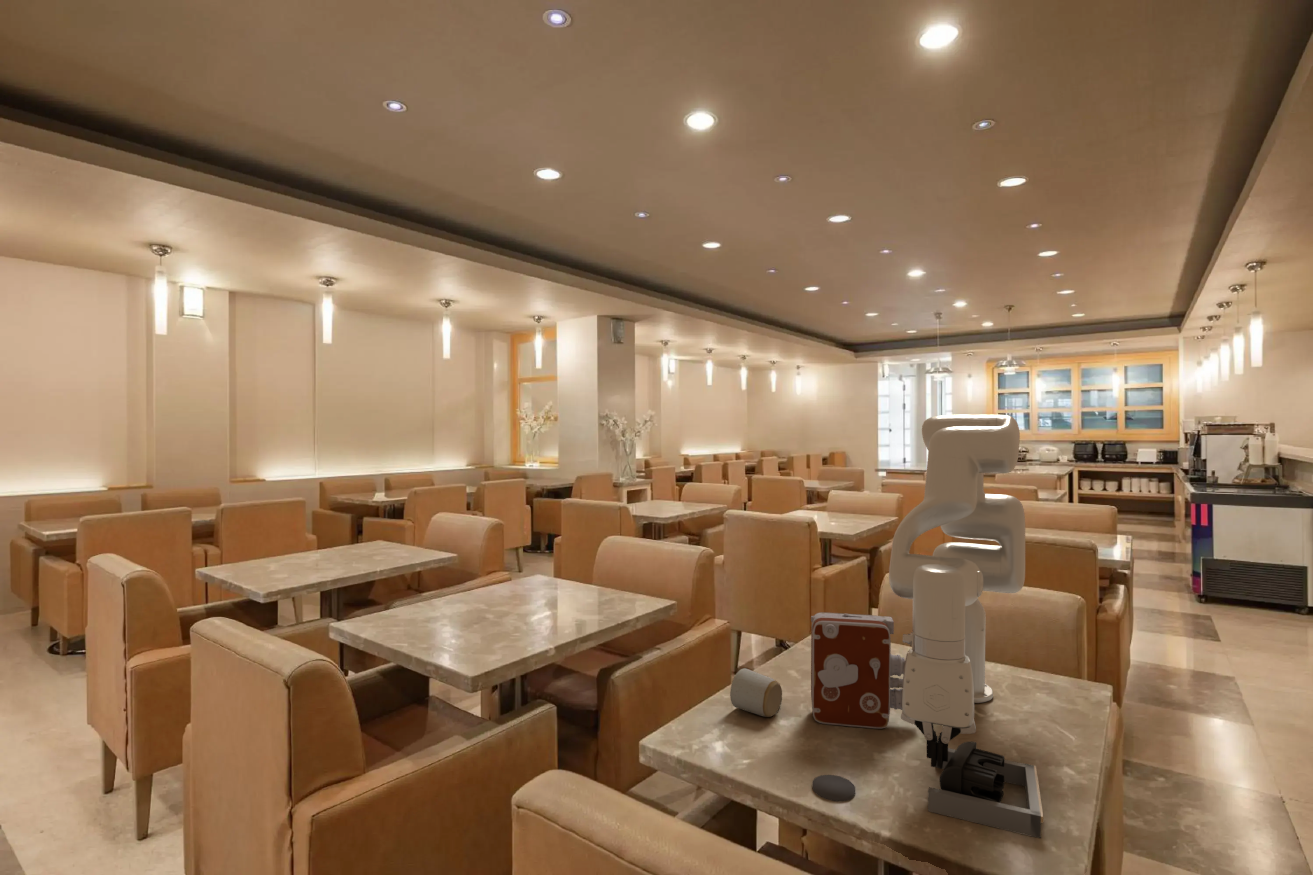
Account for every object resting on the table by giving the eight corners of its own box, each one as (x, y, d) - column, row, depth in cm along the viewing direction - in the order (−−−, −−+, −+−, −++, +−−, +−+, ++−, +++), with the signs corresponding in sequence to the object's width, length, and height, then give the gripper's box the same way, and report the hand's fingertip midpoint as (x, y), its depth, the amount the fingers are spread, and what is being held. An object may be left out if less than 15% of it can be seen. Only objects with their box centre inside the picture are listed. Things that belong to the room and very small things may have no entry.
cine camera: (921, 736, 120) (922, 626, 120) (811, 726, 124) (812, 620, 124) (912, 715, 129) (913, 613, 129) (810, 706, 133) (810, 607, 133)
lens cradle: (935, 763, 110) (935, 745, 110) (1035, 784, 104) (1035, 765, 104) (928, 811, 97) (928, 790, 97) (1043, 838, 90) (1043, 816, 90)
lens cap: (817, 777, 107) (817, 771, 107) (858, 786, 104) (858, 780, 104) (807, 796, 101) (808, 790, 101) (851, 807, 98) (851, 800, 98)
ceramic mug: (765, 724, 125) (766, 683, 125) (728, 712, 130) (729, 673, 130) (791, 707, 133) (792, 668, 133) (756, 696, 138) (756, 659, 138)
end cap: (955, 778, 106) (955, 735, 106) (1004, 792, 102) (1005, 748, 102) (938, 806, 98) (939, 760, 98) (991, 823, 94) (992, 776, 94)
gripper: (884, 645, 103) (883, 763, 103) (992, 661, 96) (991, 787, 96) (890, 632, 110) (889, 743, 110) (992, 646, 103) (991, 764, 103)
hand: (937, 763), depth 103 cm, fingers closed
